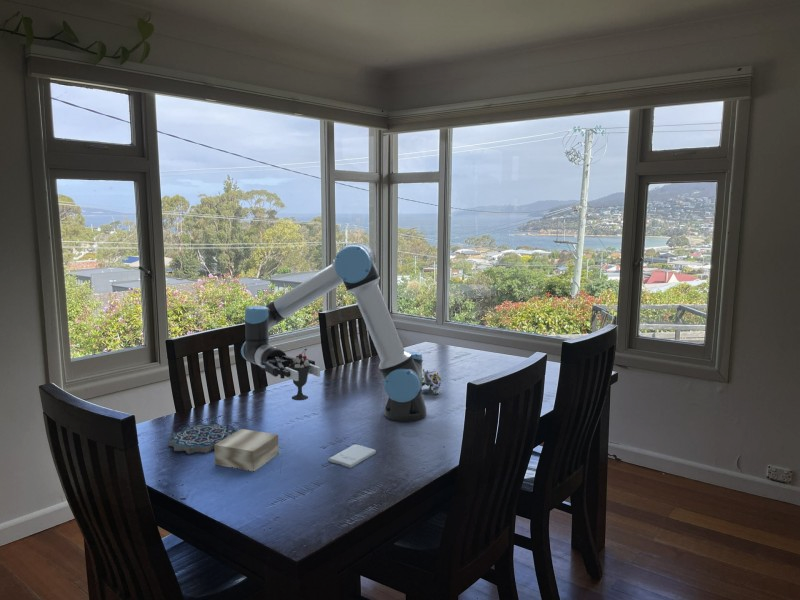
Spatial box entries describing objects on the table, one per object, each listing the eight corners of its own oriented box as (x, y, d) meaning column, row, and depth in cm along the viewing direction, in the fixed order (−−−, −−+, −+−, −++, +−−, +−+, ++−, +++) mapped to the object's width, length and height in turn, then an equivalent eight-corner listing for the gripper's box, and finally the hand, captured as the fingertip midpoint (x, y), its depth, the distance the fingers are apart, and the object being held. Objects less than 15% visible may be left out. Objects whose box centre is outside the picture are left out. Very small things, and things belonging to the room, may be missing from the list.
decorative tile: (232, 452, 175) (232, 445, 175) (163, 456, 172) (162, 449, 172) (239, 428, 195) (239, 421, 194) (177, 431, 191) (177, 424, 191)
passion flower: (435, 407, 232) (438, 389, 224) (409, 400, 234) (411, 382, 226) (442, 385, 240) (445, 367, 232) (416, 379, 242) (418, 361, 233)
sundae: (314, 396, 177) (315, 348, 175) (304, 402, 171) (304, 352, 169) (295, 393, 179) (295, 346, 177) (284, 399, 173) (284, 350, 171)
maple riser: (278, 453, 174) (278, 434, 173) (254, 471, 162) (253, 451, 161) (241, 447, 178) (241, 428, 177) (215, 464, 166) (214, 444, 165)
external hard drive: (375, 454, 175) (350, 469, 165) (354, 448, 179) (328, 462, 169) (375, 449, 175) (350, 464, 164) (354, 443, 179) (328, 457, 169)
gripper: (297, 365, 194) (336, 380, 177) (242, 374, 182) (278, 392, 164) (297, 343, 193) (336, 356, 176) (242, 351, 180) (278, 367, 163)
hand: (308, 374), depth 170 cm, fingers closed on sundae, 7 cm apart
